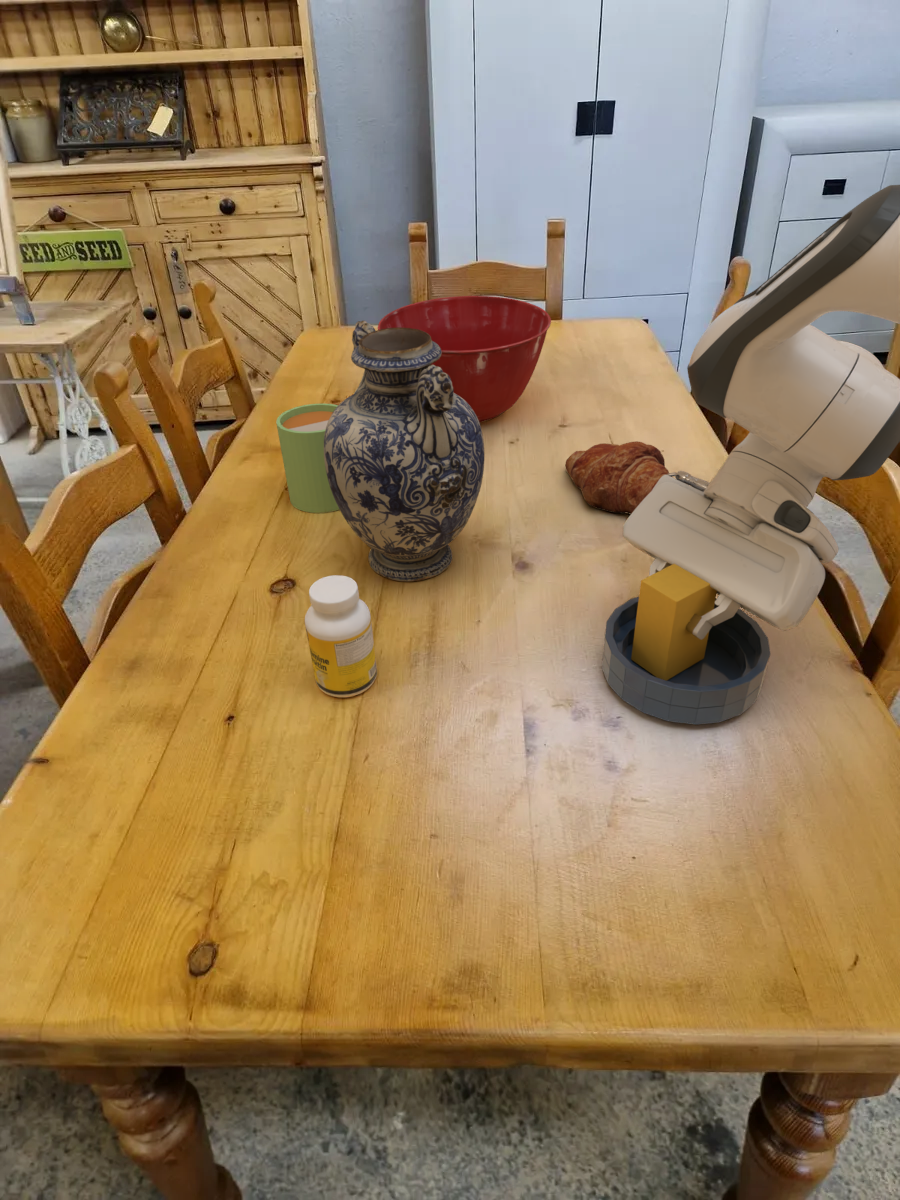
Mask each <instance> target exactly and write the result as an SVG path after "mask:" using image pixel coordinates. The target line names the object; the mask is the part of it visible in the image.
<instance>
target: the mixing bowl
mask: <svg viewBox="0 0 900 1200" xmlns="http://www.w3.org/2000/svg"><path fill="white" fill-rule="evenodd" d="M551 324H552V318H551V316H550V314H549V312H547V311H546V310H544V309H543V308H541V307H540V306H537V305H536V304H533V303H530V302H527V301H523V300H520V299H514V298H510V297H509V298H508V297H502V296H489V295H460V296H459V295H458V296H445V297H438V298H432V299H426V300H422V301H417V302H413V303H411V304H407V305H403V306H401V307H399V308H396V309H394V310H392V311H390V312H389V313H387V314H386V315H384V316H383V317H382V318H381V319H380V320H379V322H378V325H377V330H381V329H386V328H398V327H401V328H412V329H418V330H422V331H424V332H426V333H428V334H429V335H430V336H431V340H432V341H433V342H435V343H437V344H438V345H439V347H440V348H441V351H442V354H441V356H440V358H439V359H438V360H437V361H435V362H434V363H432V364H433V365H435V366H437V367H440V368H441V369H442V371H443V372H444V373H446V374H448V375H449V376H450V378H451V381H452V386H453V389H454V392H453V393H455V394H457V395H458V396H460V397H461V398H463V399H464V400H465V401H466V402H467V403H468V404H469V405H470V407H471V408H472V409H473V411H474V412H475V414H476V416H477V418H478V420H479V423H483V422H486V421H487V422H488V421H490V420H493V419H495V418H497V417H498V416H499V417H500V415H501V414H503V413H505V412H506V411H508V410H509V409H510V408H512V407H513V406H514V405H515V404H516V403H517V402H518V401H519V399H520V398H521V397H522V395H523V394H524V392H525V390H526V388H527V387H528V385H529V382H530V380H531V378H532V377H533V374H534V372H535V369H536V367H537V364H538V362H539V359H540V356H541V353H542V350H543V347H544V344H545V340H546V337H547V333H548V330H549V328H550V327H551ZM432 364H431V365H432Z"/></svg>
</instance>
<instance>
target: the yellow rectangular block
mask: <svg viewBox="0 0 900 1200" xmlns="http://www.w3.org/2000/svg"><path fill="white" fill-rule="evenodd" d="M717 595H718V594H717V590H715V589H713V588H711V587H710V583H708V582H706V581H704V580H702V579H701V578H699V577H697V576H695V575H694V574H692V573H690V572H688V571H686V570H685V569H683V568H681V567H679V566H678V565H676V564H673V565H671V566H669V567H667V568H665V569H663V570H661V571H659V572H657V573H655V574H653V575H651V576H649V575H648V576H647V577H645V578H642V579H641V580H640V586H639V594H638V597H639V601H638V609H637V617H636V624H635V632H634V640H633V648H632V656H631V660H633V661H634V662H636V663H637V664H638V665H640V666H641V667H643V668H644V669H646V670H647V671H648V672H650V673H651V674H653V675H654V676H656V677H657V678H660V679H663V680H666V681H667V680H668V679H670V678H672V677H673V676H675V675H677V674H678V673H680V672H682V671H684V670H685V669H687V668H689V667H690V666H692V665H694V664H695V663H697V662H699V661H700V660H702V659H704V655H705V650H706V645H707V640H708V635H709V632H708V633H707V635H706V636H705V637H704V638H703V639H702V640H701V639H699V638H697V637H696V636H694V635H693V634H691V633H690V632H688V631H687V630H686V625H687V624H688V622H690V619H691V618H692V617H693V615H694V614H697V615H698V616H700V617H701V616H703V615H705V614H707V613H708V612H710V611H712V610H713V609H714V604H715V599H717Z"/></svg>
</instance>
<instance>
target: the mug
mask: <svg viewBox="0 0 900 1200" xmlns="http://www.w3.org/2000/svg"><path fill="white" fill-rule="evenodd" d="M338 405H339V404H333V403H311V404H310V403H309V404H302V405H299V406H295V407H292V408H290V409H287V410H285V411H283V412H282V413H281V414H279V415H278V417H277V418H276V420H275V421H276V422H275V423H276V429H277V434H278V439H279V441H278V442H279V446H280V451H281V457H282V463H283V468H284V474H285V480H286V486H287V490H288V491H287V492H288V497H289V501H290V504H291V505H292V507H293V508H296V509H297V510H299V511H301V512H306V513H311V514H325V513H333V512H336V511H340V509H339V507H338V505H337V503H336V501H335V499H334V497H333V494H332V491H331V488H330V485H329V482H328V478H327V473H326V468H325V461H324V435H325V430H326V426H327V423H328V421H329V419H330V417H331V415H332V413H333V412H334V410H335V409H336V408H337V406H338Z"/></svg>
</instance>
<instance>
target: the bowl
mask: <svg viewBox="0 0 900 1200" xmlns="http://www.w3.org/2000/svg"><path fill="white" fill-rule="evenodd" d="M716 599H717V598H716ZM716 599H715V601H716ZM638 601H639V596H636V597H632V598H630V599H628V600H627V601H625V602H623V603H622V604H620V605H619V606H617V607H616V608H615V609H614V610H613V612H612V613H611V614H610V616H609V617H608V619H607V620H606V624H605V633H604V642H603V652H602V653H603V654H602V664H601V669H602V672H603V675H604V678H605V680H606V682H607V685H608V686H609V687H610V688H611V689H612V690H613V691H614V693H616V695H617V696H618V697H619V698H620V699H621V700H622V701H624V702H625V703H627V704H628V705H630V706H632V707H633V708H635V709H636V710H638V711H639V712H641V713H643V714H645V715H648V716H651V717H655V718H658V719H660V720H663V721H666V722H672V723H679V724H680V723H681V724H687V725H695V726H696V725H707V724H715V723H716V724H717V723H723V722H724V721H727V720H731V719H732V718H735V717H738V716H741V715H742V714H744V713H745V712H746V711H747V710H749V709H750V708H751V707H752V706H753V705H754V704H755V703H756V702H757V700H758V698H759V695H760V693H761V690H762V688H763V685H764V681H765V677H766V673H767V669H768V666H769V662H770V658H771V648H770V642H769V637H768V636H767V634H766V633H765V632H764V630H763V629H762V627H761V626H760V624H759V623H758V622H757V621H756V620H755V619H754V618H753V617H751V616H750V615H748V614H747V612H745V611H744V610H742V608H739V609H738V611H737V612H736V613H735V615H734V616H733V617H732V618H730V619H728V620H725V621H723V622H721V623H719V624H717V625H715V626H712V628H711V629H710V630H709V635H708V640H707V645H706V650H705V655H704V659H702V660H700V661H699V662H697V663H695V664H694V665H692V666H690V667H689V668H687V669H685V670H684V671H682V672H680V673H678V674H677V675H675V676H673V677H672V678H670V679H668V680H667V681H666V680H663V679H660V678H657V677H656V676H654V675H653V674H651V673H650V672H648V671H647V670H646V669H644V668H643V667H641V666H640V665H638V664H637V663H636V662H634V661H633V660H631V656H632V648H633V640H634V632H635V624H636V617H637V609H638ZM717 607H718V606H717V605H716V604H714V609H715V608H717Z"/></svg>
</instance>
